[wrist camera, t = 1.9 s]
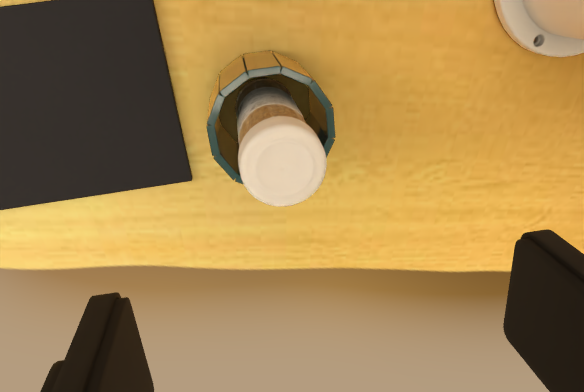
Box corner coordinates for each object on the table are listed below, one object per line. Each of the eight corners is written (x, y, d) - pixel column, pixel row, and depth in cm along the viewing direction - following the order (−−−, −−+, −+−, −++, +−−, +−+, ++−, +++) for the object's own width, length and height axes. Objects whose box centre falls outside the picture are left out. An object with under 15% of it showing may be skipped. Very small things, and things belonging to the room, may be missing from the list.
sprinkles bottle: (280, 142, 37) (307, 220, 25) (225, 122, 36) (226, 194, 24) (302, 88, 36) (342, 143, 23) (246, 66, 34) (258, 112, 22)
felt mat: (150, -12, 31) (149, -12, 31) (192, 178, 37) (191, 181, 37) (-114, 20, 30) (-120, 21, 30) (-27, 211, 36) (-31, 214, 36)
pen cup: (310, 44, 34) (329, 58, 28) (319, 147, 38) (338, 180, 31) (201, 59, 34) (196, 77, 27) (221, 161, 37) (220, 198, 31)
